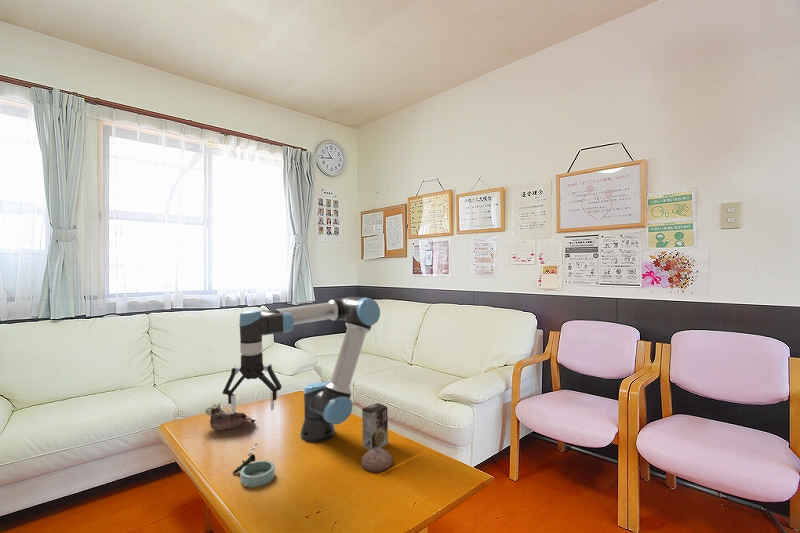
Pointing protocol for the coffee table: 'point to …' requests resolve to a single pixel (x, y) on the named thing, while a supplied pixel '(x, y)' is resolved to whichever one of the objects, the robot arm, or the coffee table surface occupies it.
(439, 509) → the coffee table surface
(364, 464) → the decorative stone
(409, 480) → the coffee table surface
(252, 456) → the figurine
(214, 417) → the rock
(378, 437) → the coffee box
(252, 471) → the bowl
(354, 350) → the robot arm
